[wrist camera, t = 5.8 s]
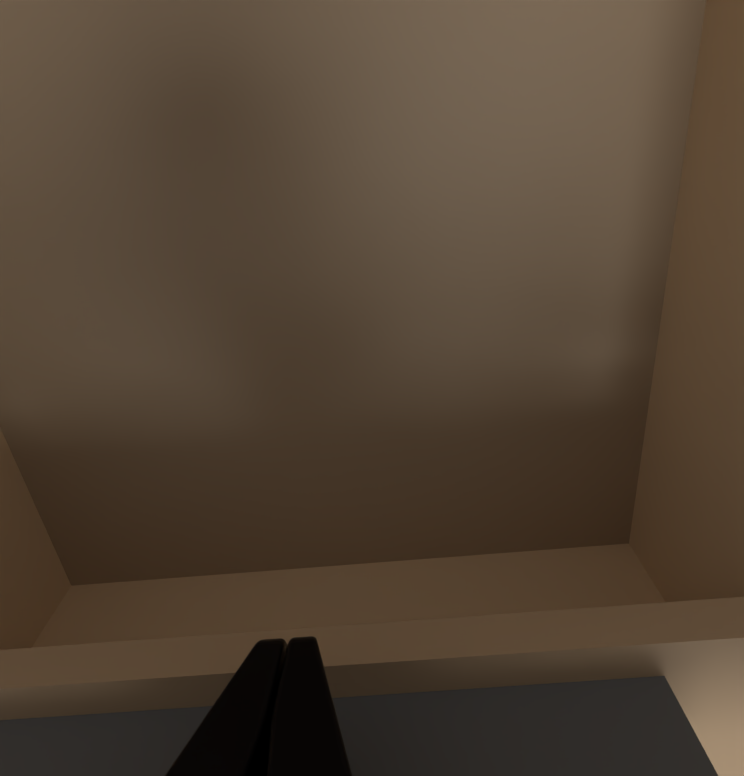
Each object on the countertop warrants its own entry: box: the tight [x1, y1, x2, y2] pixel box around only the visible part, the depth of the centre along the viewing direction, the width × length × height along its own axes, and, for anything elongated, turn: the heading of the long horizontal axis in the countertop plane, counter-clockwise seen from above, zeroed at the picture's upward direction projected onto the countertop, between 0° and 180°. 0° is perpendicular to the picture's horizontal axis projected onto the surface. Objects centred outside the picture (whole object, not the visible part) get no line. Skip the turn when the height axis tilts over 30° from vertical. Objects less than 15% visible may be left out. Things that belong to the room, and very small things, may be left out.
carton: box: [0, 0, 744, 650], centre depth 11 cm, size 18×16×6 cm
